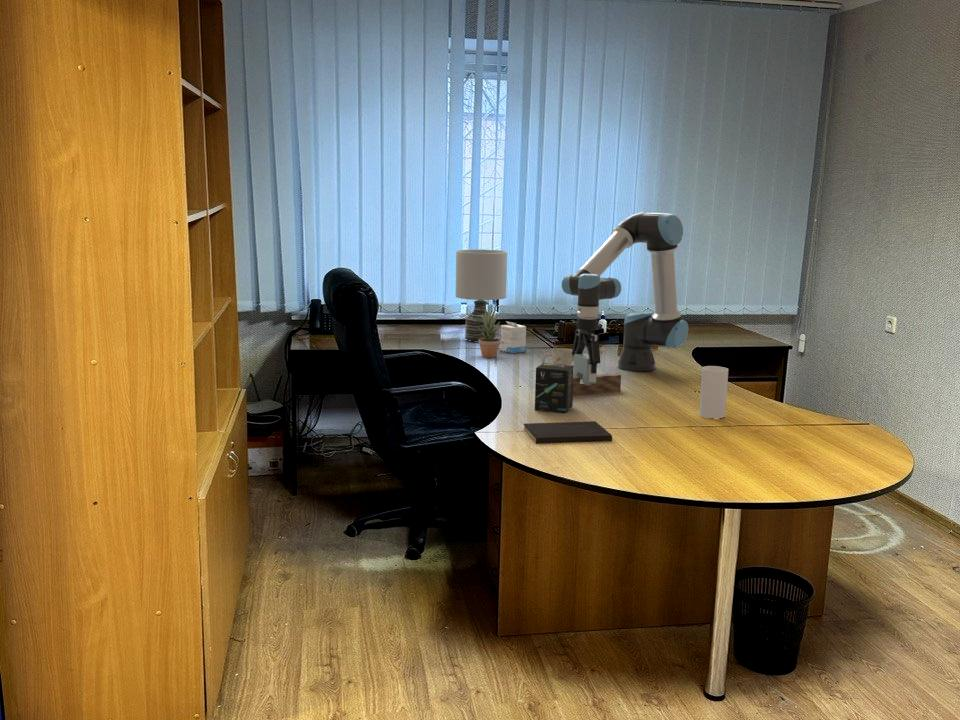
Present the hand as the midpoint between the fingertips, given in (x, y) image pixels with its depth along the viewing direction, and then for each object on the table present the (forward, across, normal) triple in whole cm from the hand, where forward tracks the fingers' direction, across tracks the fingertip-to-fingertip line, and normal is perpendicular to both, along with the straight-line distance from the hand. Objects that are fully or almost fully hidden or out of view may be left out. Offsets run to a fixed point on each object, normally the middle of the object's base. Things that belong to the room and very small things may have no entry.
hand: (584, 378), depth 319 cm
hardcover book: (+6, +48, -31) cm, 57 cm away
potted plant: (+5, -74, -8) cm, 75 cm away
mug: (+5, -31, +4) cm, 32 cm away
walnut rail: (+5, 0, 0) cm, 5 cm away
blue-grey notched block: (+1, 0, 0) cm, 1 cm away
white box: (+5, -82, +7) cm, 83 cm away
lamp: (+5, -113, +3) cm, 113 cm away
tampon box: (+6, +18, -21) cm, 28 cm away
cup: (+5, +42, +25) cm, 49 cm away
